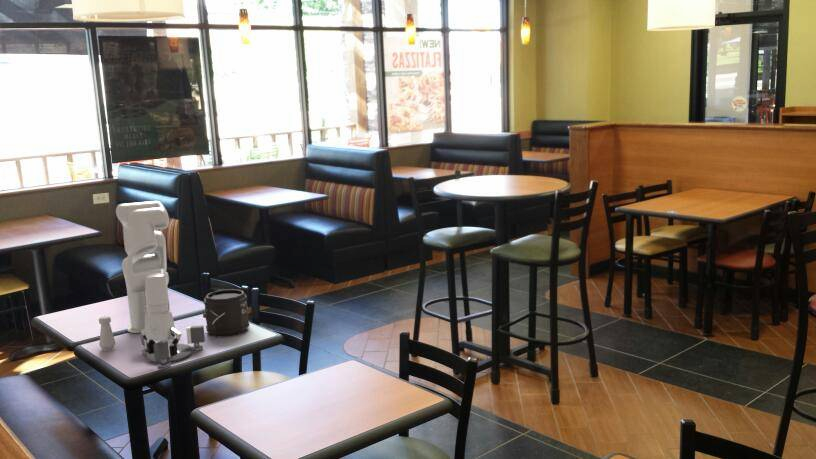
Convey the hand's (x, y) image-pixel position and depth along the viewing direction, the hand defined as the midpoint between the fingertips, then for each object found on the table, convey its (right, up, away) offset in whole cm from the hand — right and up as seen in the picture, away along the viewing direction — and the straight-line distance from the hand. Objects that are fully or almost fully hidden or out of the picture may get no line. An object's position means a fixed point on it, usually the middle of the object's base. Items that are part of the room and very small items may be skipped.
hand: (163, 354), depth 264 cm
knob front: (0, -3, +1) cm, 3 cm away
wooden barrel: (+13, +3, +39) cm, 41 cm away
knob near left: (+7, 0, +17) cm, 19 cm away
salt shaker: (-29, -2, +22) cm, 36 cm away
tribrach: (-1, -3, +9) cm, 10 cm away
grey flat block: (-11, -1, +15) cm, 19 cm away
